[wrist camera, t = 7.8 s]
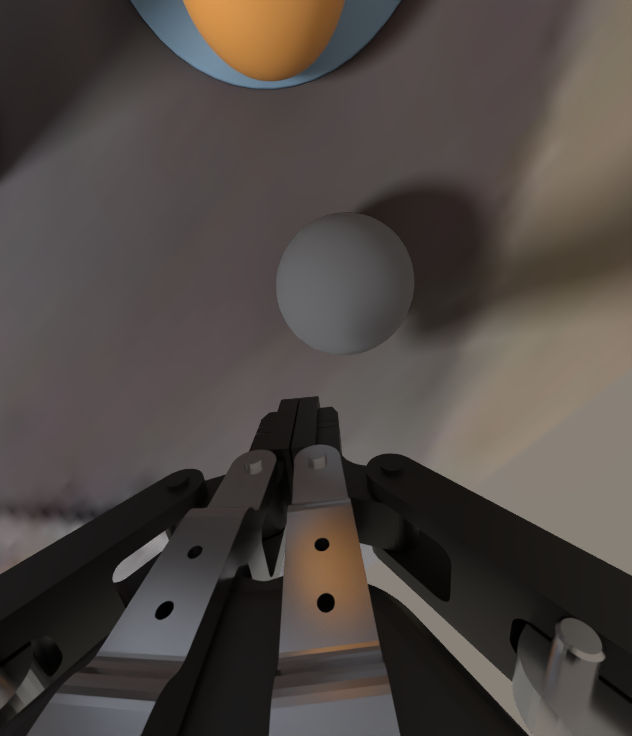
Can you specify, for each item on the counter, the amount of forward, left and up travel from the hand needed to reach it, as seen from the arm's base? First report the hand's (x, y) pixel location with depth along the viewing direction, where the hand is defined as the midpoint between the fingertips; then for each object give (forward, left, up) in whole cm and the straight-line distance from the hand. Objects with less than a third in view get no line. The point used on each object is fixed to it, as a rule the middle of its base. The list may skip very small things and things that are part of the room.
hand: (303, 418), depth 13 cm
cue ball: (-3, +4, -3) cm, 6 cm away
